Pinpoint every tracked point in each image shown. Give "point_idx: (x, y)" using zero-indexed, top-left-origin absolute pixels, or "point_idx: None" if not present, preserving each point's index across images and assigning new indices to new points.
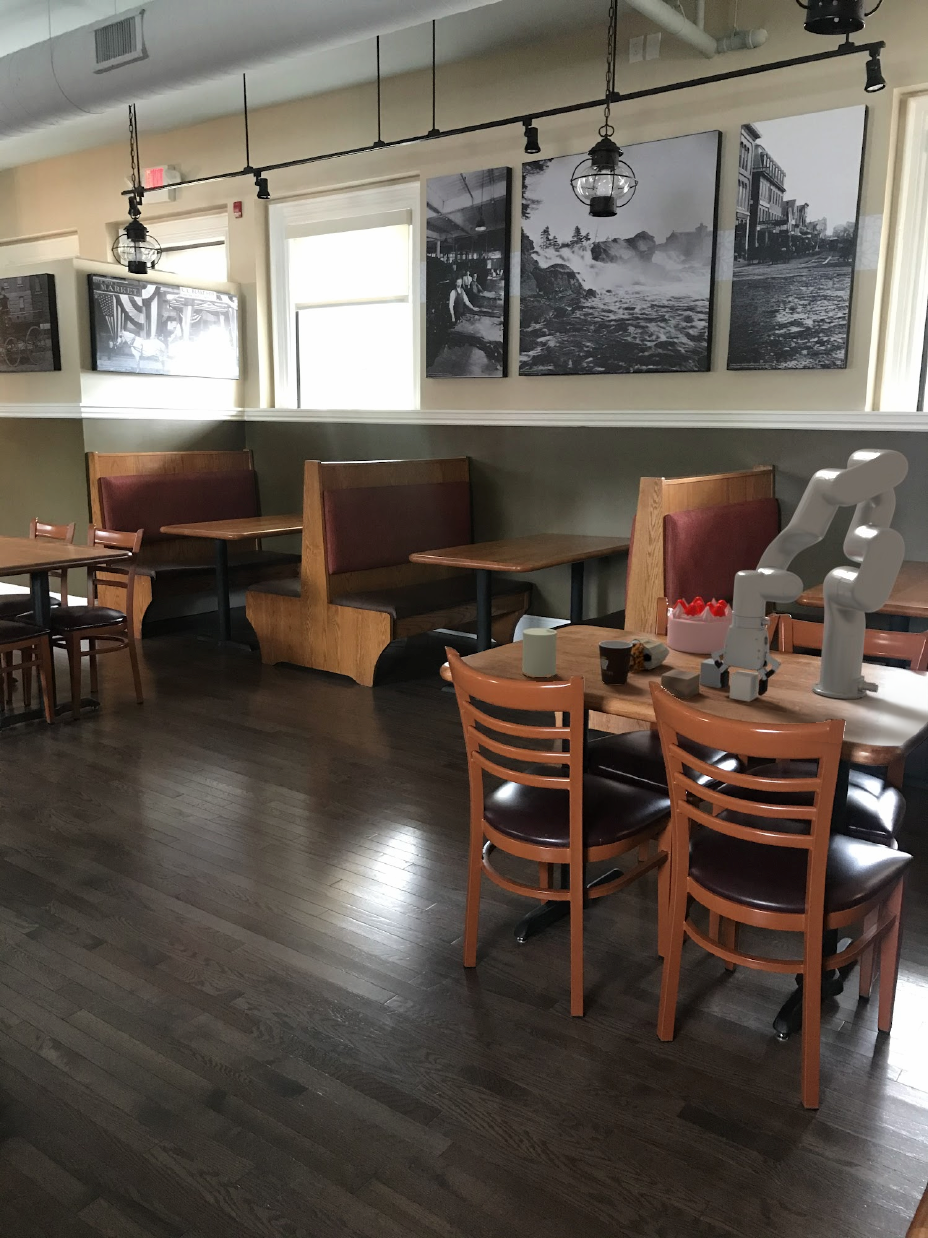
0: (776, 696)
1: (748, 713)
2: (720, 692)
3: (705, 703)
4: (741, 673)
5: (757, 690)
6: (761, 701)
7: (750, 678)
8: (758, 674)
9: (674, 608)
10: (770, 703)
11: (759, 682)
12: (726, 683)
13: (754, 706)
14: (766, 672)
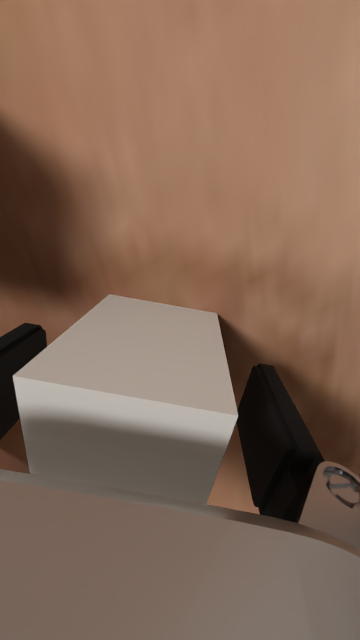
0: (324, 245)
1: (221, 505)
2: (31, 312)
3: None
4: (86, 462)
5: (219, 333)
6: (246, 374)
7: None
8: (235, 414)
9: None
10: (289, 386)
11: (255, 493)
12: None
13: None
14: (344, 539)
